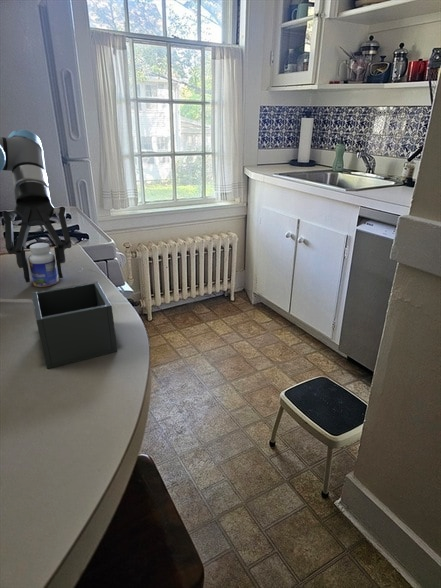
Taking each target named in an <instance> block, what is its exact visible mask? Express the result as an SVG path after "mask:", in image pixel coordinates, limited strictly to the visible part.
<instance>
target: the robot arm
mask: <svg viewBox="0 0 441 588" xmlns="http://www.w3.org/2000/svg"><path fill="white" fill-rule="evenodd" d="M44 155H45V152H44V149H43V145H42V141H41V139H40V137H39V136H38V135H37V134H36V133H35V132H33V131H30V130H27V129H19V130H16V129H15V130H13V131H11V132H10V133H9V134H8V136H7V137H6V136H5V137H4V136H3V137H1V136H0V173H1V172H2V171H6V172H7V171H9V172H11V176H12V185H13V189H14V190H13V191H14V200H15V207H14V209H13V210H11V211H7V210H2V211H1V215H2V217H3V220H4V237H5V239H4V241H5V242H4V244H5V245H4V246H5V247H4V248H5V249H6V252H7V254H8V255H15V259H16V265H17V267H18V268H19V269H22V270H23V278H24V280H25V283H31V278H30V277H31V276H30V270H29V269H30V268H29V260H28V256H27V255H28V254H27V253H26V250H25V247H26V244H27V241H28V237H29V232H30V231H31V227H36V226H44V228H45V229H46V231H47V233H48V234H49V236H50V238H51V240H52V241H53V243H54V245H55V246H54V247H53V248H54V249H53V250H54V257H55V263H56V269H57V275H58V279H63V278H64V276H63V269H62V264H66V254H65V250H66V249H71V248H72V240H71V236H70V233H69V232H70V231H69V228H68V224H67V220H66V218H67V210H66V207H64V206H61V207H59V208H58V207H54V205H53V204H52V200H51V195H50V190H49V187H50V186H49V181H48V175H47V169H46V164H45V156H44ZM54 214H55V216H56V218H57V219H59V224H60V228H61V232H62V236H63V240H64V241H62V240H61V238H60V236H59V234H58V233H57V231H56V230H55V228H54V225H53V224H52V223H51V218H52V217H53V216H54ZM15 218H18V219H19V220H20V221H21V224H20V229H19V232H18V236H17V239H16V243H15V242H14V239H15V238H14V225H13V223H14V222H15ZM14 243H15V245H14Z"/></svg>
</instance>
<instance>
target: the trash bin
mask: <svg viewBox="0 0 441 588" xmlns="http://www.w3.org/2000/svg"><path fill="white" fill-rule="evenodd" d="M31 298H32V302H33V303H32V304H33V309H34V315H35V321H36V325H37V331H38V334H39V339H40V340H39V341H40V344H41V349H42V353H43V358H44V362H45V368H46V369H47V370H48V369H52V368H57V367H60V366H65V365H68V364H73V363H76V362H77V363H78V362H80V361H85V360H88V359H89V360H90V359H93V358H97V357H100V356H105V355H109V354H113V353H117V352H118V345H117V339H116V338H117V336H116V328H115V321H114V320H115V319H114V314H113V313H114V312H113V305H112V304H111V302H110V300H109V298H108V296H107V295H106V293H105V291H104V290H103V288H102V287H101V285H100V283H99V282H98V281H93V282H88V283H82V284H76V285H75V284H74V285H69V286H64V287H58V288H51V289H45V290H40V291H34V292H31Z"/></svg>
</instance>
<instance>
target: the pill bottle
mask: <svg viewBox="0 0 441 588" xmlns="http://www.w3.org/2000/svg"><path fill="white" fill-rule="evenodd" d="M50 246H51V245H50V244H49V243H47V242H37V243H33V244H30V246H29V250H30V251H29V252H30V255H29V256H28V257H27V260H28V266H29V269H30V270H29V271H30V274H31V279H32V284H33V286H35V287H39V288H43V287H45V288H46V287H50V286H53V285H56V284H58V282H59V275H58V269H57V263H56V256H55V253H53V252H50V251H51V247H50Z"/></svg>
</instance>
